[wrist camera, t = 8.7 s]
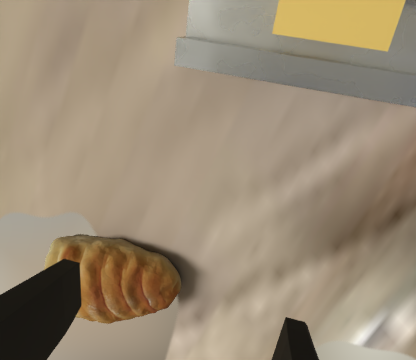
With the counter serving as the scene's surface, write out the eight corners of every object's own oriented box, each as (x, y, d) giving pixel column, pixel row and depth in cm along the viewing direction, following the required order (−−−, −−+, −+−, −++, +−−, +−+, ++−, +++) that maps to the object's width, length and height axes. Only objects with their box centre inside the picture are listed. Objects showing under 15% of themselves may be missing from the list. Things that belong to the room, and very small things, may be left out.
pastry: (175, 230, 23) (156, 267, 19) (190, 306, 25) (175, 350, 22) (55, 229, 25) (19, 262, 22) (81, 299, 28) (52, 338, 24)
